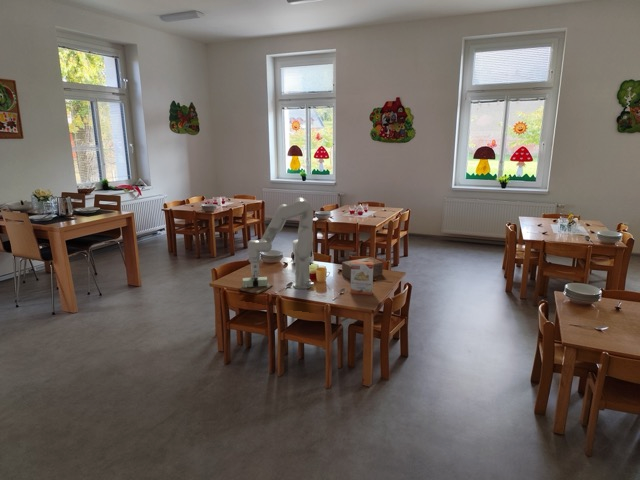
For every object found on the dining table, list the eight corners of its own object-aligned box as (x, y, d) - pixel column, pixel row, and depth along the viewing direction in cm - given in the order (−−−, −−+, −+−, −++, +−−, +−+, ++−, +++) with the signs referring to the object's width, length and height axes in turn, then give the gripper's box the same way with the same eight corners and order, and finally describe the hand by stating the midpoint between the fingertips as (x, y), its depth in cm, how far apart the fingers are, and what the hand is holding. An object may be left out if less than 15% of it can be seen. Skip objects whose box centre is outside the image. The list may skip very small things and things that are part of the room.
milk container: (296, 259, 346) (296, 237, 342) (316, 261, 341) (316, 239, 337) (288, 265, 331) (288, 243, 326) (309, 267, 325) (309, 245, 321)
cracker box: (350, 294, 273) (350, 263, 268) (351, 290, 279) (351, 260, 274) (372, 295, 271) (373, 264, 266) (372, 292, 277) (373, 261, 272)
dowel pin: (247, 288, 279) (247, 284, 278) (246, 289, 278) (246, 284, 277) (246, 288, 279) (246, 283, 278) (245, 288, 278) (244, 284, 277)
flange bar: (266, 282, 287) (266, 276, 286) (267, 285, 282) (267, 279, 281) (242, 284, 283) (242, 278, 282) (243, 287, 278) (242, 280, 277)
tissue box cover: (370, 269, 322) (371, 257, 319) (382, 275, 310) (382, 262, 307) (341, 275, 310) (342, 262, 307) (352, 281, 298) (353, 267, 295)
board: (272, 286, 286) (272, 278, 285) (258, 294, 272) (257, 286, 271) (253, 282, 294) (253, 274, 292) (238, 289, 280) (238, 281, 279)
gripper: (261, 262, 271) (262, 288, 275) (259, 254, 287) (259, 279, 291) (249, 262, 269) (250, 289, 274) (248, 255, 285) (248, 280, 290)
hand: (255, 284), depth 282 cm, fingers closed on flange bar, 5 cm apart
